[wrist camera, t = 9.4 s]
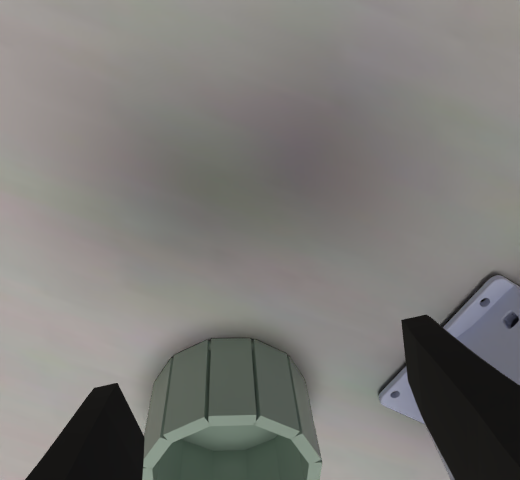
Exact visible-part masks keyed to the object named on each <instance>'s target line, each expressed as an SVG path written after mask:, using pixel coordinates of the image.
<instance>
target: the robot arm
mask: <svg viewBox="0 0 520 480" xmlns="http://www.w3.org/2000/svg"><path fill="white" fill-rule="evenodd" d="M484 298H486V299H485V300H484V301H483V302H480V301H481V300H482V299H484ZM401 321H402V330H403V339H404V349H405V358H406V366H405V368H404V369H403V370H402V371H401V372H400V373H399V374H398V375H397V376H396V377H395V378H394V379H393V380H392V381H391V382H390V383H389V384H388V385H387V386H386V387H385V388H384V389H383V391H382V392H381V393H380V394H379V400H380V402H381V404H382V405H383V406H385V407H388V408H390V409H392V410H394V411H396V412H399V413H401V414H403V415H405V416H408V417H410V418H412V419H414V420H416V421H419V422H421V423H423V424H425V425H426V427H427V429H428V432H429V434H430V436H431V438H432V440H433V442H434V444H435V447H436V449H437V451H438V453H439V455H440V457H441V460H442V462H443V464H444V466H445V468H446V470H447V472H448V475H449V477H450V479H451V480H520V286H518V285H516V284H515V283H513V282H511V281H510V280H508V279H507V278H505V277H503V276H500V275H496V276H493V277H491V278H490V279H489V280H488V281H487V282H486V283H485V284H484V285H483V286H482V287H481V288H480V289H479V290H478V291H477V292H476V293H475V294H474V295H473V296H472V297H471V298H470V300H469V301H468V302H467V303H466V304H465V305H464V306H463V307H462V308H461V309H460V310H459V311H458V312H457V313H456V314H455V315H454V316H453V317H452V318H451V319H450V320H449V321H448V323H447V324H446V325H445V326H444V327H442V326H440V325H439V324H438V323H437V322H436V321H434V320H433V319H432V318H431V317H429V316H428V315H422V316H418V317H413V318H409V319H404V320H401ZM393 391H396V392H394V393H392V392H393ZM144 441H145V438H144V436H143V434H142V432H141V430H140V428H139V426H138V424H137V421H136V419H135V417H134V415H133V413H132V411H131V409H130V407H129V405H128V403H127V401H126V399H125V397H124V395H123V393H122V391H121V389H120V387H119V385H118V383H115V384H110V385H106V386H101V387H97V388H94V389H93V390H92V391H91V393H90V394H89V395H88V397H87V398H86V399H85V401H84V402H83V403H82V405H81V406H80V407H79V409H78V410H77V412H76V413H75V414H74V416H73V417H72V418H71V420H70V421H69V423H68V424H67V425H66V427H65V428H64V429H63V431H62V432H61V434H60V435H59V436H58V438H57V439H56V440H55V442H54V443H53V444H52V446H51V447H50V448H49V450H48V451H47V452H46V454H45V455H44V456H43V458H42V459H41V460H40V462H39V463H38V464H37V466H36V467H35V468H34V469H33V470H32V472H31V473H30V474H29V475H28V477H27V478H26V479H25V480H142V476H143V462H144Z"/></svg>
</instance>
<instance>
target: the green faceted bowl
mask: <svg viewBox="0 0 520 480" xmlns="http://www.w3.org/2000/svg"><path fill="white" fill-rule="evenodd" d="M144 438H145V441H144V462H143V476H142V480H320V474H321V467H322V459H321V454H320V450H319V445H318V440H317V435H316V430H315V426H314V421H313V416H312V411H311V406H310V402H309V397H308V392H307V387H306V383H305V379H304V378H303V376H302V375H301V373H300V372H299V370H298V369H297V367H296V366H295V364H294V363H293V361H292V360H291V358H290V357H289V356H287V354H286V353H284V352H282V351H280V350H277V349H275V348H273V347H271V346H269V345H266V344H264V343H262V342H260V341H258V340H255V339H254V340H253V341H252V340H251V338H221V339H211V341H208V339H207V340H205V341H203V342H201V343H199V344H197V345H195V346H193V347H190V348H188V349H186V350H184V351H182V352H180V353H178V354H176V355H174V358H172V357H171V359H170V360H169V362H168V363H167V365H166V366H165V368H164V369H163V370H162V372H161V373H160V375H159V376H158V378H157V379H156V381H155V382H154V385H153V390H152V395H151V401H150V406H149V412H148V417H147V423H146V428H145V434H144Z"/></svg>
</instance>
